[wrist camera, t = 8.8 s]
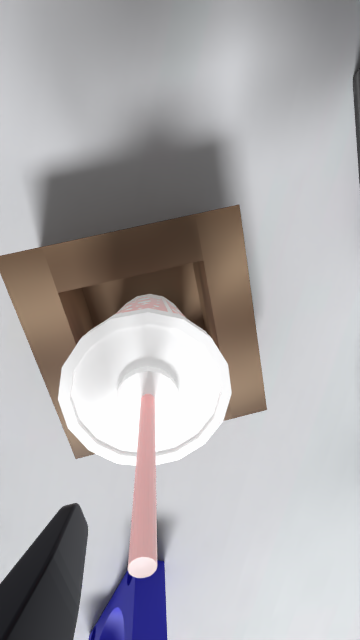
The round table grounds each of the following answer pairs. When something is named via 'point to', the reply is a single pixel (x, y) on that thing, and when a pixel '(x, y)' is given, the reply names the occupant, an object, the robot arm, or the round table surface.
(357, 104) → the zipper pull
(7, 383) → the round table surface
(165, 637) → the blue piece
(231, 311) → the walnut well block
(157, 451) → the beverage cup
